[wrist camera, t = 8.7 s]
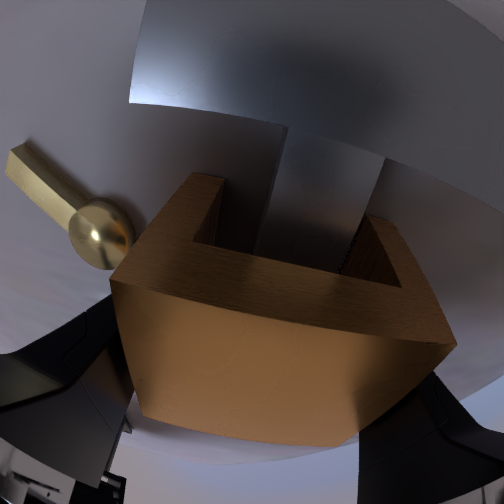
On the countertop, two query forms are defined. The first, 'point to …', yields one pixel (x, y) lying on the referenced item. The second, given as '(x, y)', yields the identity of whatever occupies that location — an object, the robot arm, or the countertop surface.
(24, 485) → the robot arm
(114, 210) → the brass measuring spoon
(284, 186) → the hammer
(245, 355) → the wooden u-channel block
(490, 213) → the countertop surface
